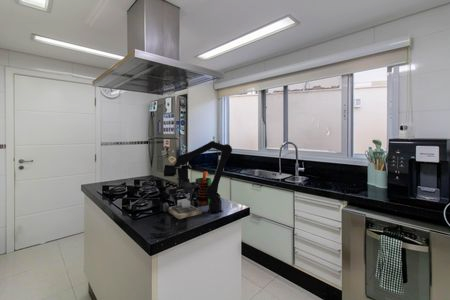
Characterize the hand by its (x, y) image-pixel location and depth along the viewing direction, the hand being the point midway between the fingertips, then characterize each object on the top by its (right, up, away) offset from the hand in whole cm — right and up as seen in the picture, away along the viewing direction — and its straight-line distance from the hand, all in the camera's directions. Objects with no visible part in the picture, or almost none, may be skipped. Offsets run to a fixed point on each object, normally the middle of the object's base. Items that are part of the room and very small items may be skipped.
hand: (183, 203), depth 129 cm
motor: (+10, -4, +17) cm, 20 cm away
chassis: (0, -5, 0) cm, 5 cm away
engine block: (0, -3, 0) cm, 3 cm away
